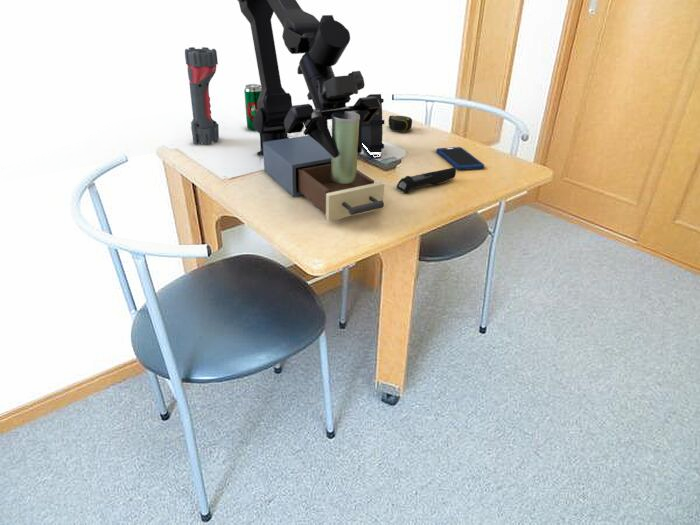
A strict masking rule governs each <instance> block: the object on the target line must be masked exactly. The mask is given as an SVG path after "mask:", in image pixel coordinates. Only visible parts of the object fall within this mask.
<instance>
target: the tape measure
mask: <svg viewBox="0 0 700 525" xmlns="http://www.w3.org/2000/svg"><path fill="white" fill-rule="evenodd" d="M387 121H388V126H389V127H388V128H389V129H390V130H393V131H397V132H399V133H404V132H407V131H411V129H412V126H413V119H412V117H410V116H406V115H389V116H388V120H387Z"/></svg>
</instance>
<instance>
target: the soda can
mask: <svg viewBox="0 0 700 525" xmlns="http://www.w3.org/2000/svg"><path fill="white" fill-rule="evenodd" d="M243 93H244V105H245V106H244V107H245V116H246V118H245V119H246V128H247V129H248V130H249V131H250V132H251V131H252V132H257V131H256V130H254V125H253V119H254V117H255V114H256V112H257V110H258V107H257V101H258V98H259V96H260V93H261V84H257V83H248V84H245V86H244V90H243Z"/></svg>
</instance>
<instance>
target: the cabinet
mask: <svg viewBox="0 0 700 525" xmlns="http://www.w3.org/2000/svg"><path fill="white" fill-rule="evenodd" d="M263 155H264V156H263V169H264V170H263V171H264V173H265V174H266V175H268V176H269V178H271V179H272V180H273V181H274V182H276V183H277V184H278V185H279V187H281V188H282V189H283V190H285V191H286V192H287V193H288V194H289V195H290V196H292V197H293V198H294V197H299V196H304V195H303V194H302V193H301V192H300V191H299V186H298V169H303V168H308V167H314V166H319V165H325V164H330V163H331V154H330V153H328V152H327V151H326V150H325V149H324V148H323V147H322V146H321V145H320V144H319V143H318V142H317V141H315V140H314V139H313V138H312V137H310V136H309V135H301V136H295V137H289V138H287V139H280V140H274V141H267V142H263Z"/></svg>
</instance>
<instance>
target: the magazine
mask: <svg viewBox="0 0 700 525" xmlns="http://www.w3.org/2000/svg"><path fill="white" fill-rule="evenodd" d="M372 96H374V97H376V98H378V100H379V102H380V105H381V107H382V108H381V109H380V110H379V111H378V112H377V114H376V115H375V116H374V117H373V118H372V120H371V121H369V122H367V123H362V143H363V144H364V145H365V146H366V147H367V148H368V150H369V151H370V152H382V153H383V149H385V144H384V143H383V125H385V119H383V103H384V102H385V101H384V100H385V99H384V98H382V93H373V94H372V93H371V94H368V95H367V96H366V97H372ZM362 151H364V152H365V153H366V155H367V156H368V157H369V159H378V158H377V157H376V158H374V157H373V155H370V154H369V153H368V152H367V150H366V149H365V148H364V147H363V145H362ZM374 156H377V155H374ZM378 156H379V155H378Z"/></svg>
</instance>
